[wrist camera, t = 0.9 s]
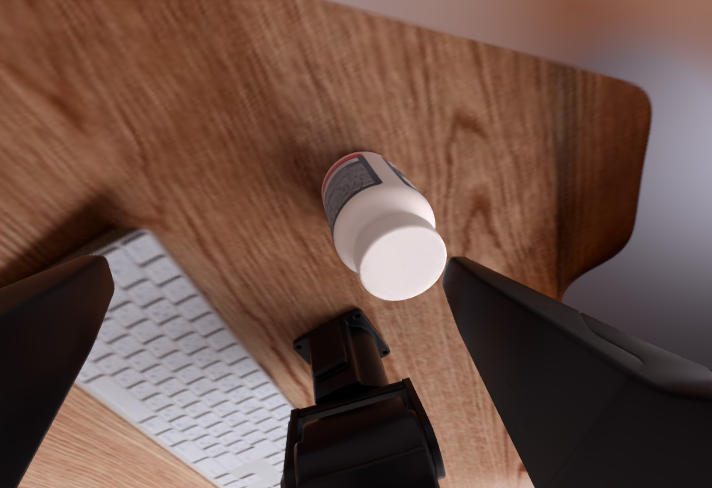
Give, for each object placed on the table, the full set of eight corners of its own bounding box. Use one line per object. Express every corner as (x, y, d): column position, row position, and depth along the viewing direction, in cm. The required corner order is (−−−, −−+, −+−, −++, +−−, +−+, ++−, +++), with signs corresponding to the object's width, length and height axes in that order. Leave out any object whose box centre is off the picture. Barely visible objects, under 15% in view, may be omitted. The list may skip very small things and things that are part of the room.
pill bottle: (316, 222, 22) (333, 312, 15) (326, 144, 20) (353, 205, 12) (389, 227, 24) (439, 312, 16) (408, 155, 21) (477, 217, 14)
